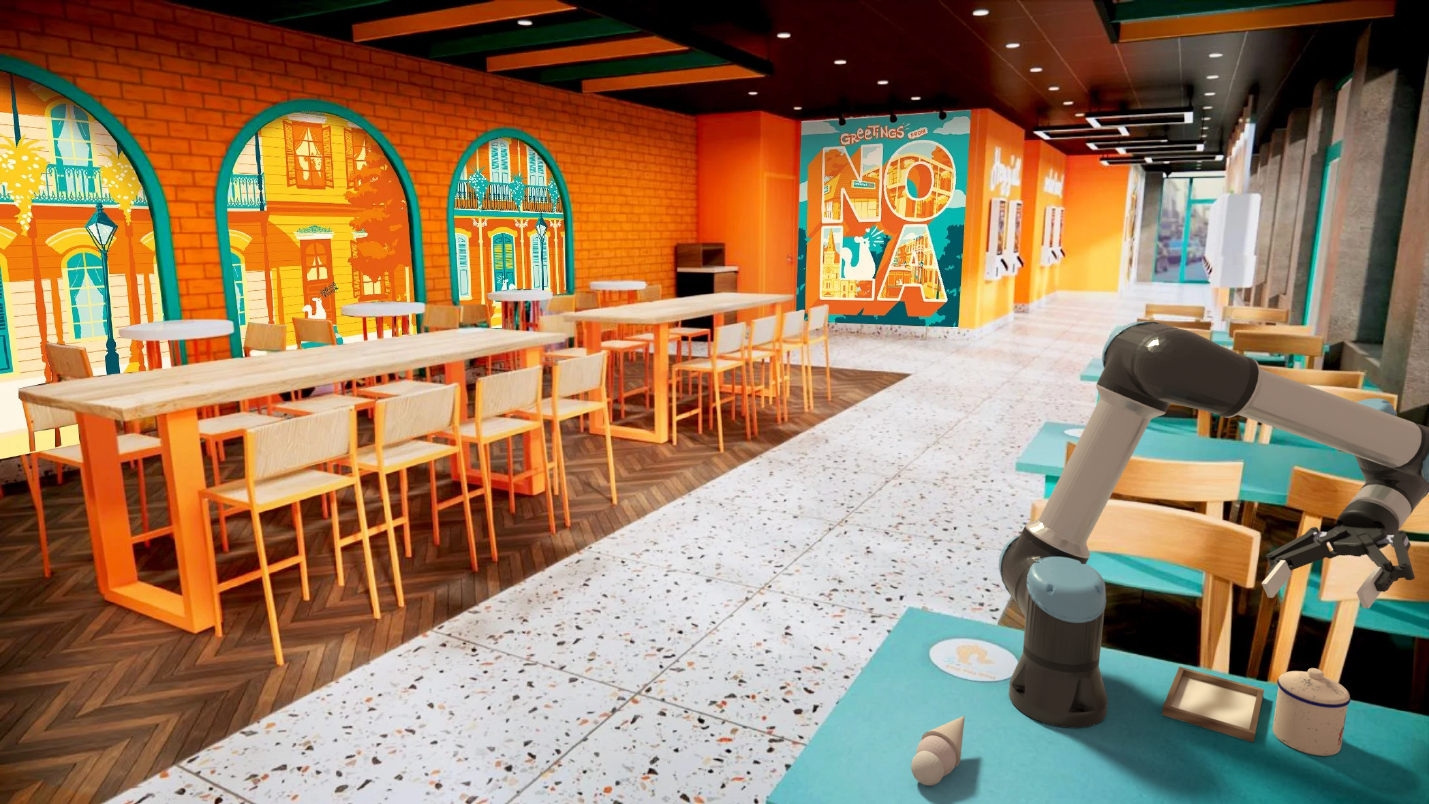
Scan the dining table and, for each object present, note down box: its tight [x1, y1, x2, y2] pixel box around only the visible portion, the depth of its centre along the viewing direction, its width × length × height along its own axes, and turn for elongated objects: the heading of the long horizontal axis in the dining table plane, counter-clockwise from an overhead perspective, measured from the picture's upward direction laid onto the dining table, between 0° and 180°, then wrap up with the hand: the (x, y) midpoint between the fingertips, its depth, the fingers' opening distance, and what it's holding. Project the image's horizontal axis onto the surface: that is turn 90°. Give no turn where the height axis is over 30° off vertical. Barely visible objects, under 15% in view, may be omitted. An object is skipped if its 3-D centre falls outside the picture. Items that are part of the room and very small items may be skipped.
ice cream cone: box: [910, 715, 966, 786], centre depth 123 cm, size 6×6×15 cm
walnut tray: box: [1161, 666, 1265, 743], centre depth 138 cm, size 13×16×2 cm
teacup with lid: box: [1272, 667, 1351, 757], centre depth 129 cm, size 12×9×12 cm
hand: (1312, 595), depth 128 cm, fingers open, 13 cm apart
